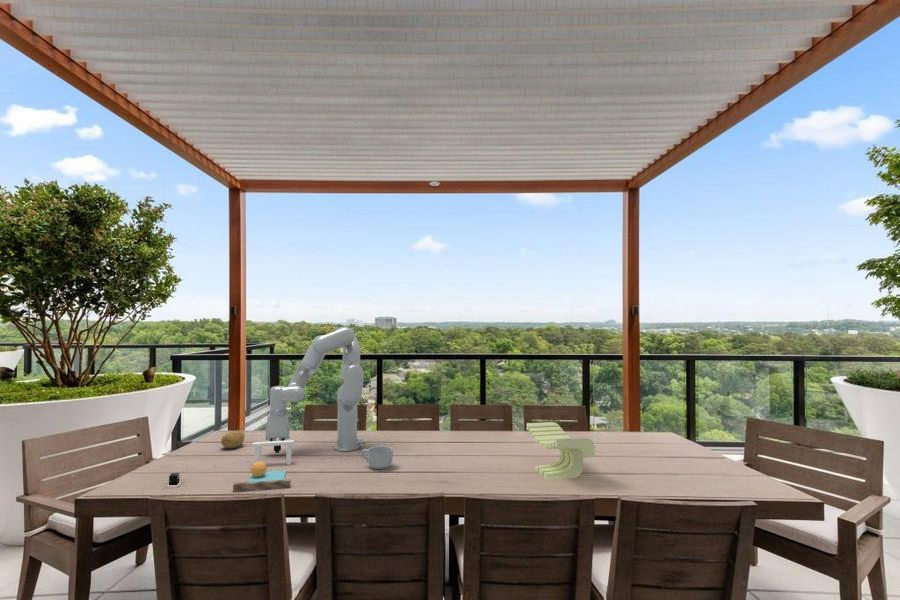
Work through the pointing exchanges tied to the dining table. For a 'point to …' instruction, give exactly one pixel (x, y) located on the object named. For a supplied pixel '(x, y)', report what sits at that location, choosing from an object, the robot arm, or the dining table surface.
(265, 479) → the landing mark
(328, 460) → the dining table surface
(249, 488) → the stopper
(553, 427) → the green ribbed curved stand
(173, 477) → the black angular piece
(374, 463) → the teacup
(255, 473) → the ball
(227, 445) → the potato
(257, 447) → the bridge
